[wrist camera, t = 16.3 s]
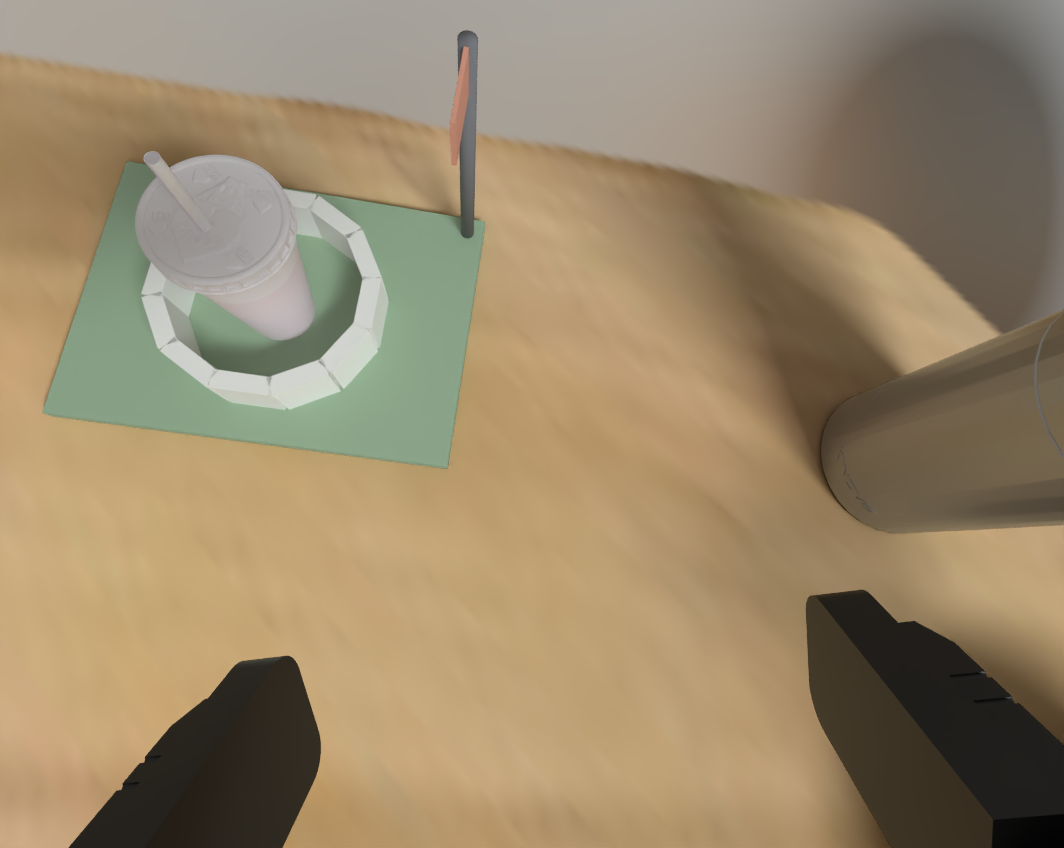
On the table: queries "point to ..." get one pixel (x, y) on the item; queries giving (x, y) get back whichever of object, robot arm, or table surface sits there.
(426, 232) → the practice green
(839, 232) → the table surface
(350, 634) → the table surface
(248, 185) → the smoothie
